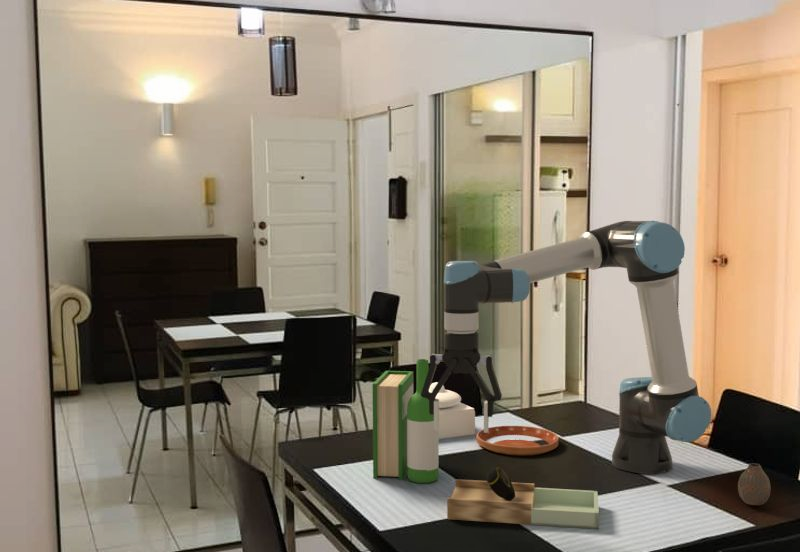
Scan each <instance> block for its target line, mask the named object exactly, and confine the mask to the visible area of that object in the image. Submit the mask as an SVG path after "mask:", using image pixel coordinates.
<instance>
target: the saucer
mask: <svg viewBox="0 0 800 552" xmlns="http://www.w3.org/2000/svg"><path fill="white" fill-rule="evenodd" d="M502 436H523V437H524V436H525V437H531V438H535V439H540V440H543V441H545V442H546V443H548V444H544V445H543V444H542V445H541V444H539V443H537V442H535V441H531V440H527V439H519V440H516V439H515V440H510V439H504V440H498V441H495V442H493V443H492V442H490V441H489V440H490V439H493V438H497V437H502ZM488 441H489V442H488ZM559 441H560V440H559V436H558V435H557V433H555V432H553V431H552V430H551V431H550V430H548V429H544V428H540V427H534V426H527V425H500V426H490V427H488V432H487V433H484V428H483V429H481V430H479V431H478V432H477V433H476V443H477V444H478V445H479V446H480V447H483V448H484V449H486V450H488V451H490V452H492V453H497V454H502V455H508V456H509V455H510V456H535V455H541V454H545V453H548V452H551V451H553V450H554V449H557V447H559Z"/></svg>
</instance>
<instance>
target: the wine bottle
mask: <svg viewBox="0 0 800 552" xmlns="http://www.w3.org/2000/svg"><path fill="white" fill-rule="evenodd" d="M429 367H430V365H429V360H428V359H426V358H424V359H423V358H422V359H421V358H420V359H419V358H418V359H417V360H416V391H415V393H413V395H412V397H411V398H410V399H409V401H408V405H407V472H406V474H407V478H408V480H409V481H411V482H413V483H417V484H429V483H433V482H436V480H438V478H439V463H440V461H439V456H440V455H439V439H438V430H434V414H430V413H429V400H428V399H427V398H425V397H422V396H421V392H422V389H423V386H424V383H425V380H426V377H427V374H428V371H429ZM428 392H429V391H428Z"/></svg>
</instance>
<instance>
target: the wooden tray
mask: <svg viewBox="0 0 800 552" xmlns="http://www.w3.org/2000/svg"><path fill="white" fill-rule="evenodd" d="M511 483H512V485H513V488H514V491H515V498H514V499H512V500H511V501H507V500H505V499H503V498H501V497H499V496H498V495H496V494H495V492H494V491H493V490H491V489H490V487H489V485H488V482H487V480H479V479H477V480H474V479H459V478H458V479H457V478H456V479H455V487H454V489H453V492H452V494H451V497H447V498H446V501H447V502H446V503H447V504H446V505H447V506H446V508H447V511H446V514H447V515H446V517H447V518H446V519H447V520H459V521H471V522H473V521H474V522H483V523H484V522H487V523H499V524H500V523H503V524H516V525H520V524H521V525H531V508H533V507H534V488H535V483H532V482H531V483H527V482H513V481H511ZM531 526H532V525H531Z"/></svg>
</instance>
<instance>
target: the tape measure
mask: <svg viewBox="0 0 800 552" xmlns="http://www.w3.org/2000/svg"><path fill="white" fill-rule="evenodd" d="M485 479H486V480H485V481H487V482H488V485H489V487H490V489H491V490H493V491H494V492H495V494H496V495H498V496H499V497H501V498H503V499H505V500H507V501H511V500H512V499H514V498H515V491H514V488H513V485H512V483H511V482H512V481H511V479H510V476H509V474H507V473H506V472H505V471H504V470H503V469H501V468H500V467H497V466H495V467H493V468H491V469H490V470H488V471H487V473H486V474H485Z"/></svg>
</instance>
